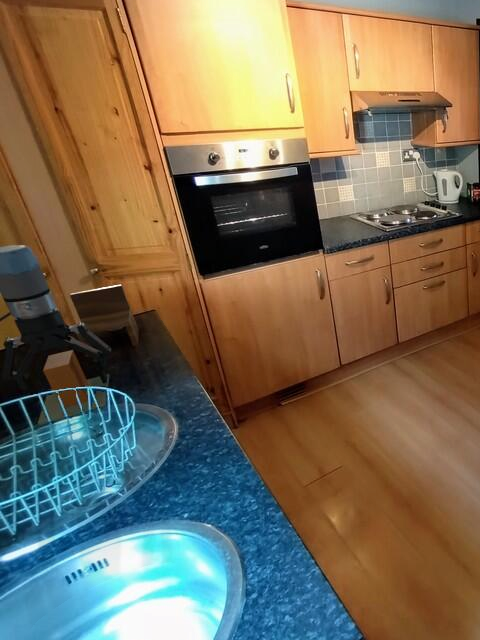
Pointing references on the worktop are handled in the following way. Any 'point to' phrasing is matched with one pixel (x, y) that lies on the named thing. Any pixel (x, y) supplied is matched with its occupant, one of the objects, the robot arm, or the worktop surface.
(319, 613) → the worktop surface
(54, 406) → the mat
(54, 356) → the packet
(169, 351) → the worktop surface
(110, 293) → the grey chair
